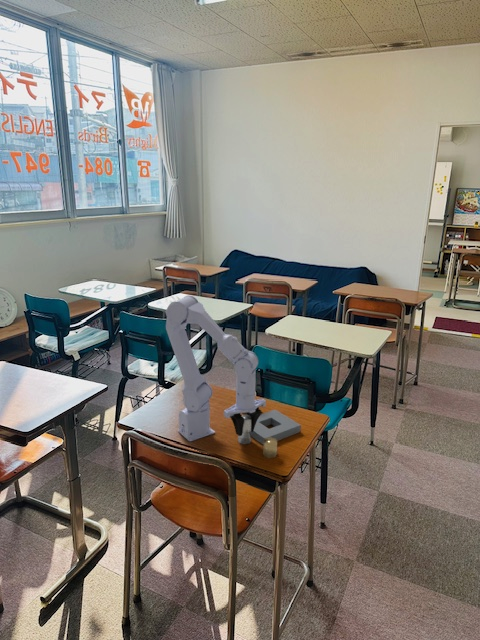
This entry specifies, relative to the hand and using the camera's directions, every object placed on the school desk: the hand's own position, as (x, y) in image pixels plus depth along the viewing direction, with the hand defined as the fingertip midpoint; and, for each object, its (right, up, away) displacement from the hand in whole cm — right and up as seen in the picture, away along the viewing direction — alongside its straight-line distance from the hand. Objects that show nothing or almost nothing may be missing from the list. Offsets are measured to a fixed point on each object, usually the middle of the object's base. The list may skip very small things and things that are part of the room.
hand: (244, 432), depth 136 cm
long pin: (0, -3, +1) cm, 3 cm away
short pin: (+7, -5, -6) cm, 11 cm away
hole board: (+8, -1, +8) cm, 11 cm away
